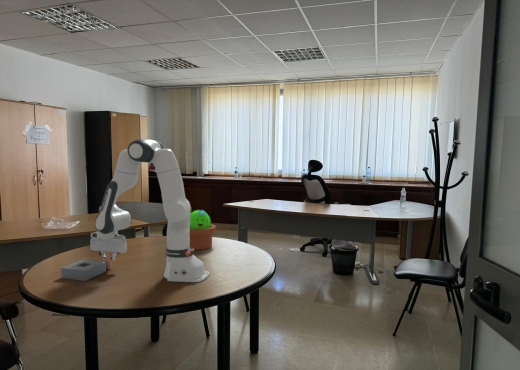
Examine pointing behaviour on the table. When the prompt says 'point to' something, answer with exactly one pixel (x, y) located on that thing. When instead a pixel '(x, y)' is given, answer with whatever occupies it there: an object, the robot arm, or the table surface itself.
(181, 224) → the robot arm
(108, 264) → the peg
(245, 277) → the table surface
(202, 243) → the potted cactus
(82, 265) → the socket block
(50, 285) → the table surface
